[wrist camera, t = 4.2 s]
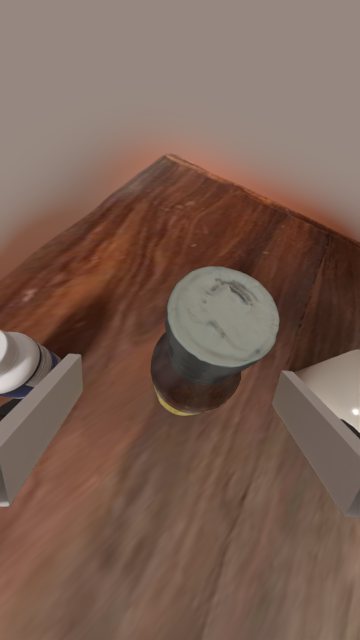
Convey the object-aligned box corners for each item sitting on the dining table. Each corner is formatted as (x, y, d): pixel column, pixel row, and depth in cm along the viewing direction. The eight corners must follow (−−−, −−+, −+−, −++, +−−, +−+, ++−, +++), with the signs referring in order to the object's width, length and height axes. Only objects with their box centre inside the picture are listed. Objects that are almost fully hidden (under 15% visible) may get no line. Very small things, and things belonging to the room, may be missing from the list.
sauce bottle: (199, 357, 27) (280, 231, 9) (214, 408, 24) (366, 370, 7) (148, 369, 26) (129, 248, 8) (159, 423, 23) (165, 428, 5)
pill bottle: (5, 394, 23) (-88, 376, 14) (32, 348, 25) (-33, 310, 17) (52, 406, 23) (-13, 397, 14) (75, 360, 25) (31, 327, 17)
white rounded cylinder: (292, 360, 28) (346, 335, 20) (342, 391, 27) (421, 377, 19) (273, 407, 25) (327, 400, 17) (329, 444, 24) (415, 455, 16)
